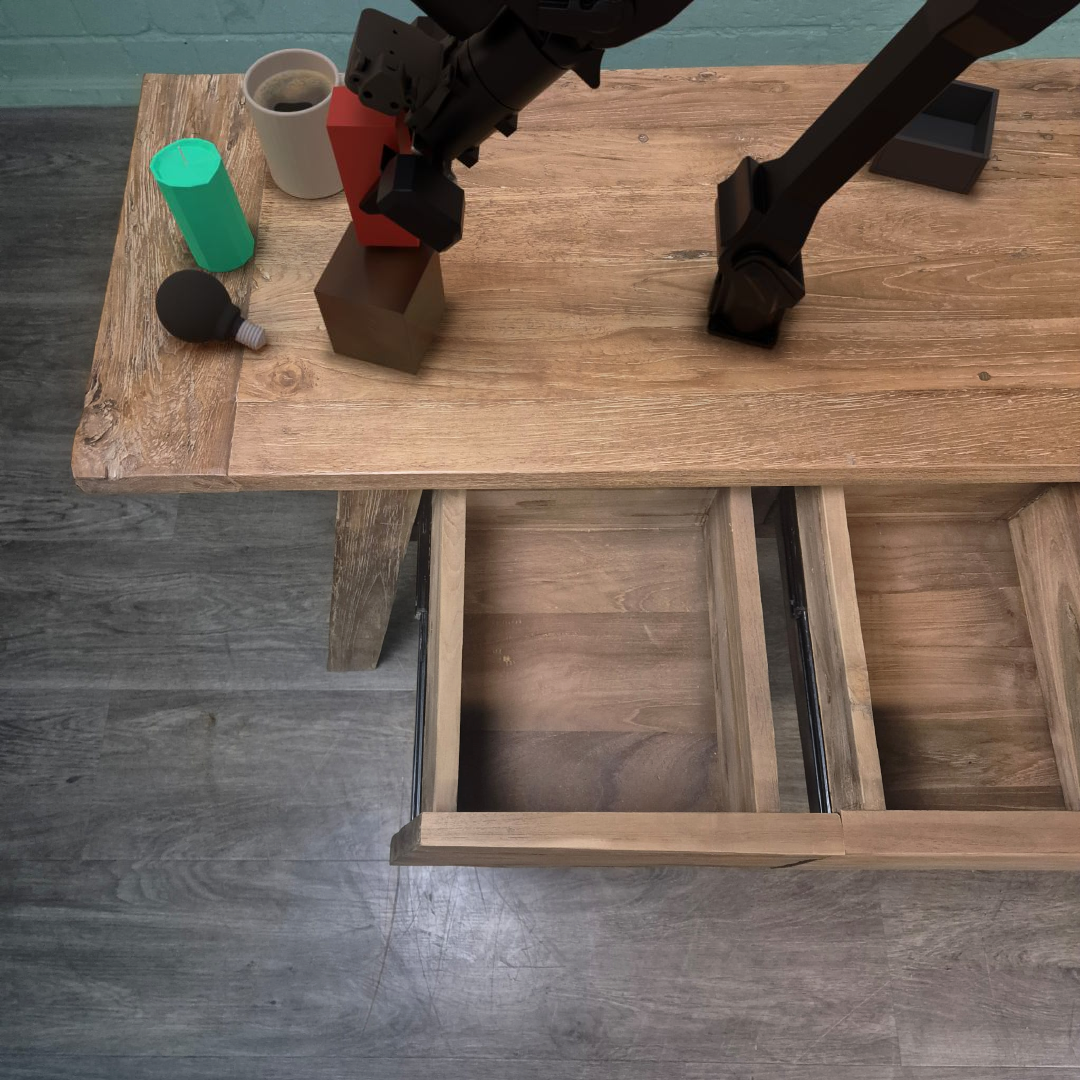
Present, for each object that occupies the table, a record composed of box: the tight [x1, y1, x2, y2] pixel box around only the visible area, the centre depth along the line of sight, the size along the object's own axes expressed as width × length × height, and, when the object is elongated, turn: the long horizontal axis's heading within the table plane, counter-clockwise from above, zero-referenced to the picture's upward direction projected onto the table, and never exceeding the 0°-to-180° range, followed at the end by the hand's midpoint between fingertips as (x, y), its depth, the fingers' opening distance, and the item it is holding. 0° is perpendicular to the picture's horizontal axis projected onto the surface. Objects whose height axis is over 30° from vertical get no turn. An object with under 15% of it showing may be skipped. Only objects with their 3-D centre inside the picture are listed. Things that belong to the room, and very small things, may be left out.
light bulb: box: [154, 268, 267, 351], centre depth 79 cm, size 6×6×10 cm
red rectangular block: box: [326, 86, 420, 247], centre depth 69 cm, size 5×4×12 cm
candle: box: [149, 137, 256, 273], centre depth 80 cm, size 6×6×12 cm
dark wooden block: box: [313, 220, 447, 376], centre depth 78 cm, size 8×8×8 cm
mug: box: [242, 48, 346, 200], centre depth 86 cm, size 11×10×10 cm
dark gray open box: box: [868, 79, 1001, 196], centre depth 90 cm, size 10×10×4 cm
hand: (366, 189), depth 71 cm, fingers closed on red rectangular block, 4 cm apart
